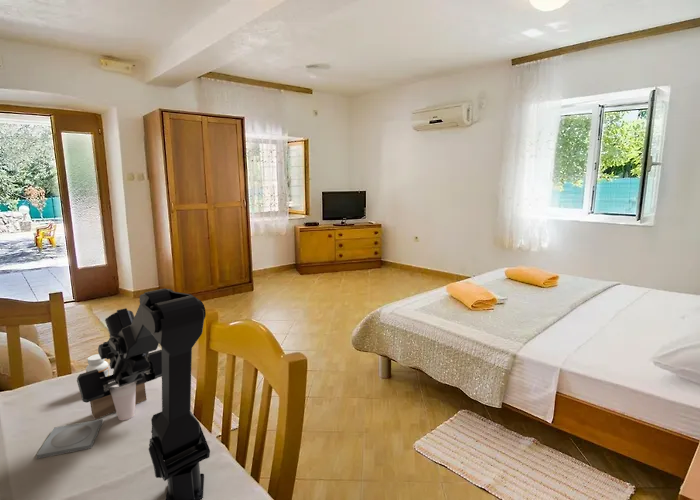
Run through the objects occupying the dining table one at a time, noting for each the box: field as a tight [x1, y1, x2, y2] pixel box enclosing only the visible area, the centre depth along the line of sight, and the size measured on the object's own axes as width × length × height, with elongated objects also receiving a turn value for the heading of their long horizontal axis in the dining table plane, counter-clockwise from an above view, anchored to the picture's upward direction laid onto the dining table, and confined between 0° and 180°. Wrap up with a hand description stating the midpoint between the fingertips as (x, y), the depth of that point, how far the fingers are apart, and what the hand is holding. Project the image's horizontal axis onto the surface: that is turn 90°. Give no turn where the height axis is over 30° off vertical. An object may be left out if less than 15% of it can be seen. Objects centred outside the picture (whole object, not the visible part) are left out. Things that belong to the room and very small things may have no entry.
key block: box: [89, 382, 147, 420], centre depth 103 cm, size 3×12×6 cm, turn 135°
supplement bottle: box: [85, 353, 111, 377], centre depth 112 cm, size 5×5×10 cm
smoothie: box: [109, 381, 137, 421], centre depth 98 cm, size 6×6×14 cm
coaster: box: [36, 418, 104, 459], centre depth 91 cm, size 10×10×1 cm
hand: (121, 387), depth 99 cm, fingers closed on smoothie, 6 cm apart
